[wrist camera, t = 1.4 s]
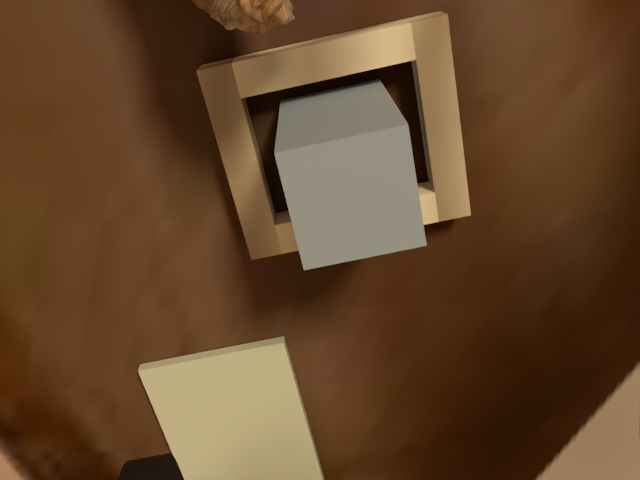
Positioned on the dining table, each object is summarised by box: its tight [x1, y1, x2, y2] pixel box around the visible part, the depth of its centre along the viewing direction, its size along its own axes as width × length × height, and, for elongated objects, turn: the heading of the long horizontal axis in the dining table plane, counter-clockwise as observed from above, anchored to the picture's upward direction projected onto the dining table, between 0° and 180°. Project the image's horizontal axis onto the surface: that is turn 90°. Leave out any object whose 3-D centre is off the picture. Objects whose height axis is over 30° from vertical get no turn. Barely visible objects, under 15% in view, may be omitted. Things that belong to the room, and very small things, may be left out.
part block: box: [274, 79, 427, 270], centre depth 25 cm, size 4×4×8 cm
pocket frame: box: [196, 11, 471, 260], centre depth 28 cm, size 10×9×2 cm
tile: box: [138, 336, 325, 480], centre depth 36 cm, size 8×14×1 cm, turn 12°
